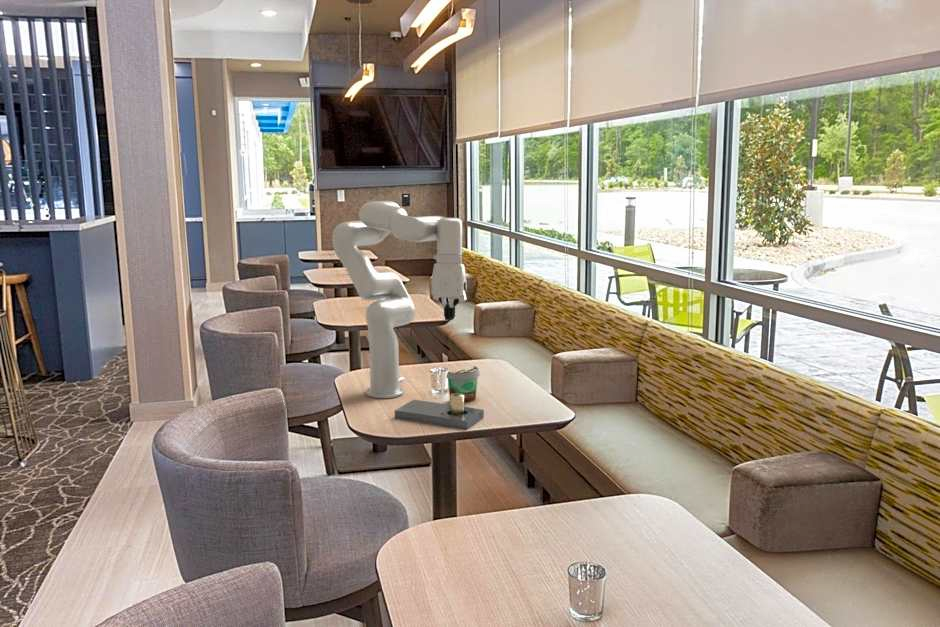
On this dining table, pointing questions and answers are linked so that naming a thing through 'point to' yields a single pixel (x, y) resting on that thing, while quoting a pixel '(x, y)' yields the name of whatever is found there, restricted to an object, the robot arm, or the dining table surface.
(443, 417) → the jig plate
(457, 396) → the brass sleeve
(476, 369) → the food container
